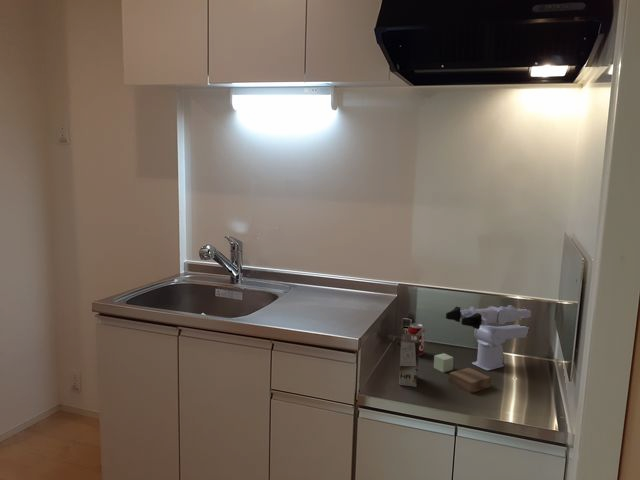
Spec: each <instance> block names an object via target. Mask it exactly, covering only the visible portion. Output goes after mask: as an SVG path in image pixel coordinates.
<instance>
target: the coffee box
mask: <svg viewBox="0 0 640 480" xmlns="http://www.w3.org/2000/svg"><path fill="white" fill-rule="evenodd" d="M399 351H400V353H399V354H400V355H399V378H398V385H399V386H406V387H413V388H417V383H418V374H419V360H420V359H419V358H420V357H419V335H415V334H408V333H402V334H401V338H400V350H399Z"/></svg>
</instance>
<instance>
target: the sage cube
mask: <svg viewBox="0 0 640 480" xmlns="http://www.w3.org/2000/svg"><path fill="white" fill-rule="evenodd" d="M433 368H434V369H436V370H437V371H440V372H441V373H447V372H450V371H453V370H454V357H453V356H452V355H449V354H447V353H445V352H444V353H440V354H434V357H433Z"/></svg>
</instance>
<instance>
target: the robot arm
mask: <svg viewBox="0 0 640 480" xmlns="http://www.w3.org/2000/svg"><path fill="white" fill-rule="evenodd" d="M529 317H531V311H530V310H527V309H520V308H516V307H514V306H513V305H510V304H508V305H507V306H503V305H502V306H501V305H500V306H499V307H496V306H493V305H490V306H488V307H487V308H476V307H475V306H469V308H468V309H467V308H466V309H461V307H460V306H455V307H454V308H453V309H452V310H450V311H447V312H446V313H445V319H446V320H450V321H451V320H452V321H455V322H458V323H460V324H461V325H463V326H466V327H472V328H474V332H473V333H474V334H473V335H474V337H475V339H476V342H477V357H476V361H472V362H471V364H472V365H474V366H476V367H478V368H480V369H482V370H485V371H491V370H495V369H500V368H502V367H504V366H505V364H503V359H504V347H503V345H502V344H504V343H505V342H506V341H507V340H513V339H521V338H527V337H526V335H527V333H528V329H529V327H526V326H520V325H519V324H512V325H510V324H508V325H505V324H506V323H508V322H510V323H511V322H515V321H517V320H518V319H521V318H529ZM489 324H498V325H499V326H496V325H495V326H493V325H489ZM501 325H502V326H501Z"/></svg>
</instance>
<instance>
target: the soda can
mask: <svg viewBox="0 0 640 480" xmlns="http://www.w3.org/2000/svg"><path fill="white" fill-rule="evenodd" d="M425 332H426V330H425V328H424V324H421V323H415V322H414V323H410V324H409V327H408V328H407V334H415V335H419V356H422V355H424V353H425V338H426V337H425V334H426V333H425Z"/></svg>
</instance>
